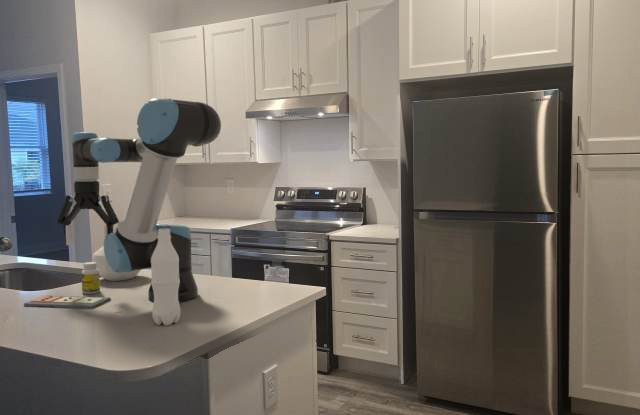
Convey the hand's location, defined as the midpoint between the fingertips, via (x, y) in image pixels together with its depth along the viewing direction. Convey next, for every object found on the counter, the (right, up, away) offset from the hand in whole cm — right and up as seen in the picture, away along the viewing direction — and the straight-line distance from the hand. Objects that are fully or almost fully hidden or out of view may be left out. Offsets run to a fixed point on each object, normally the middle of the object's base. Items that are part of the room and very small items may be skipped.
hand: (88, 245), depth 176 cm
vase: (+2, -14, +23) cm, 27 cm away
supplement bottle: (0, -16, +1) cm, 16 cm away
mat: (-1, -17, -13) cm, 21 cm away
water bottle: (+36, -18, -34) cm, 53 cm away
